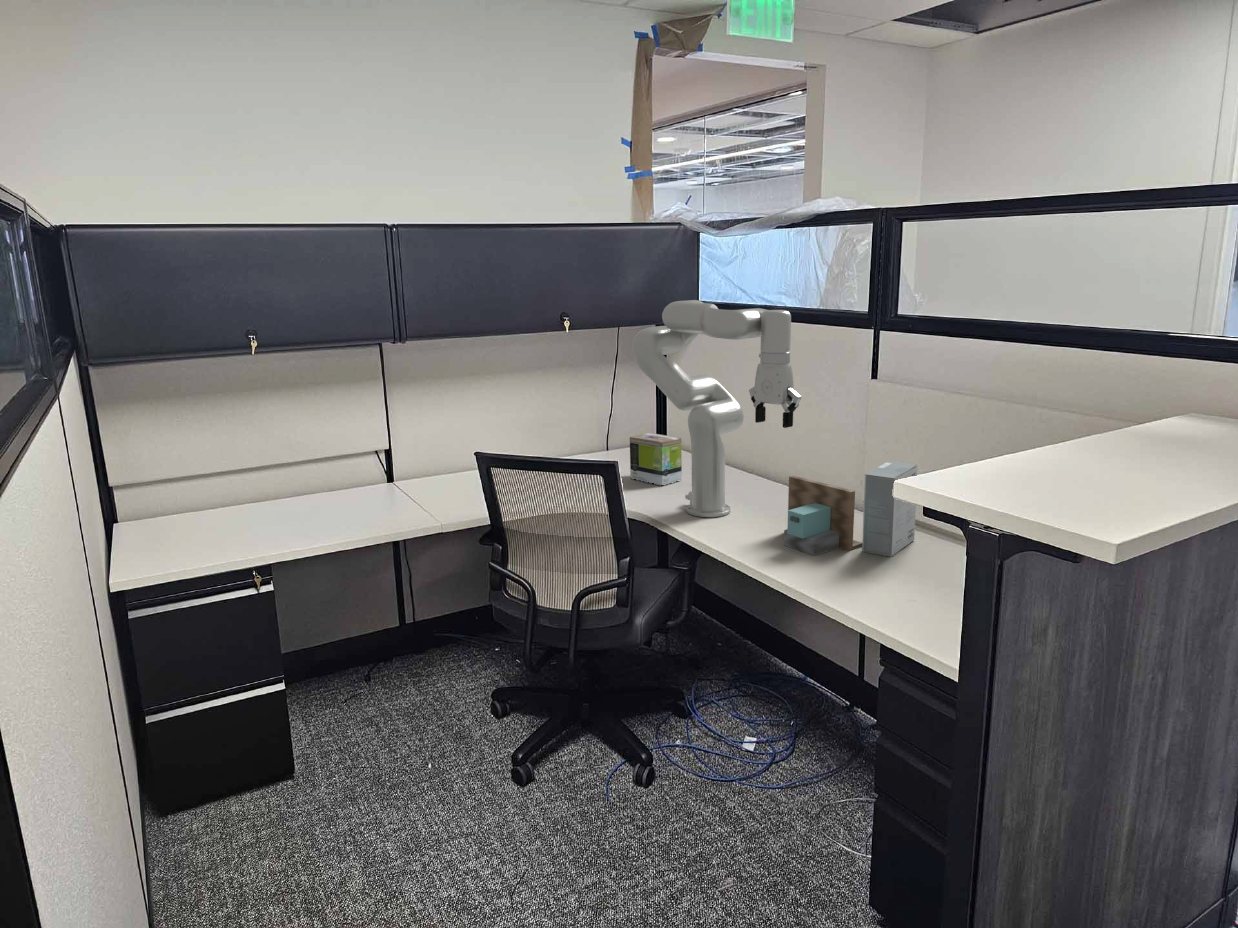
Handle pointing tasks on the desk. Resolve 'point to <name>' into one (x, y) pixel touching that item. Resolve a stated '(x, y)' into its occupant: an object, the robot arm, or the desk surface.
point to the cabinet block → (809, 520)
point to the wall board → (840, 520)
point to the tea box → (655, 458)
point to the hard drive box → (887, 511)
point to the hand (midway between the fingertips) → (773, 424)
